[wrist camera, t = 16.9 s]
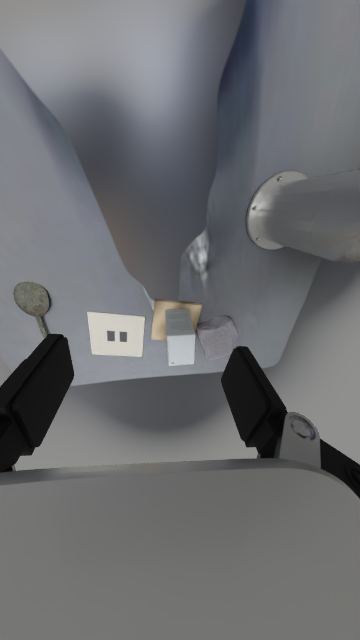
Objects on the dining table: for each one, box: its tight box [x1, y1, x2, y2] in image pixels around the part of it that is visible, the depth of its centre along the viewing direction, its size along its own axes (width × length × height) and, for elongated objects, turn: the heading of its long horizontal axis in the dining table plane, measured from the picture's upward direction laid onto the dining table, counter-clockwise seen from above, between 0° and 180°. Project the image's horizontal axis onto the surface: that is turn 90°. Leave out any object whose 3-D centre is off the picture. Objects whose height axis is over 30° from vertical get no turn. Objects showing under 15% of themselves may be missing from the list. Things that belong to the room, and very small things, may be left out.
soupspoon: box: [14, 282, 49, 339], centre depth 42 cm, size 22×3×7 cm
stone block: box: [196, 315, 238, 360], centre depth 48 cm, size 12×5×10 cm
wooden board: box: [151, 299, 202, 340], centre depth 45 cm, size 11×11×1 cm
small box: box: [165, 309, 196, 366], centre depth 40 cm, size 8×6×10 cm
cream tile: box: [87, 311, 145, 357], centre depth 46 cm, size 13×13×1 cm
